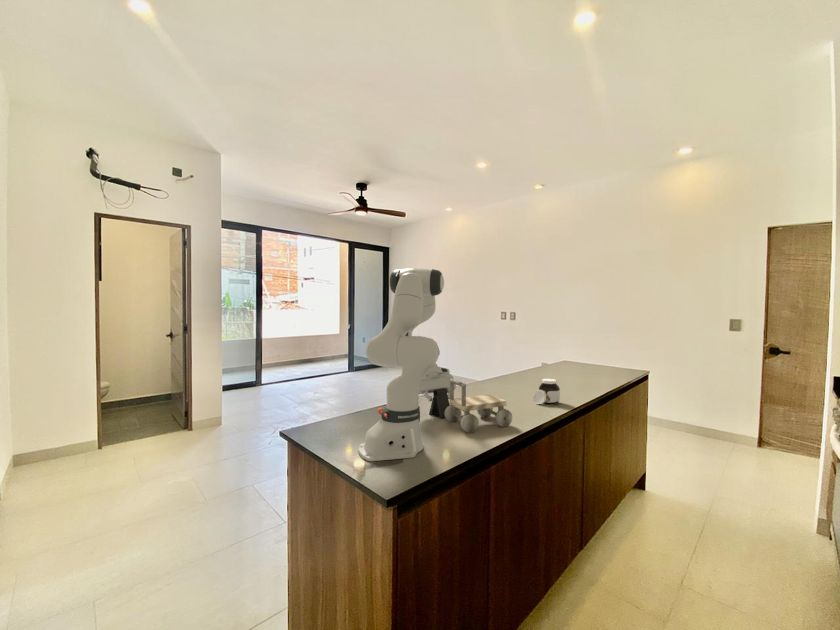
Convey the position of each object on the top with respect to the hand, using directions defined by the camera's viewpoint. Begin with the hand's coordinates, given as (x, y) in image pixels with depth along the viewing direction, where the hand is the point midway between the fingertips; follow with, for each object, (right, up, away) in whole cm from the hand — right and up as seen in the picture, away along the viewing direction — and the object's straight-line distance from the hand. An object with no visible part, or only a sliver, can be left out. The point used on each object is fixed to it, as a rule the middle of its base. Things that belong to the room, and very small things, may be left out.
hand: (440, 399), depth 161 cm
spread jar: (+54, -6, +18) cm, 58 cm away
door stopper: (0, -7, 0) cm, 7 cm away
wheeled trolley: (+15, -7, -12) cm, 21 cm away
